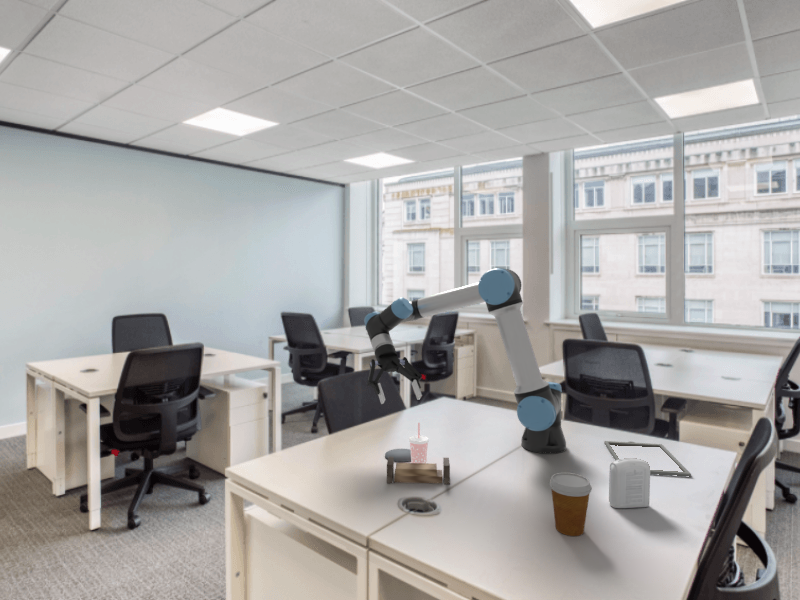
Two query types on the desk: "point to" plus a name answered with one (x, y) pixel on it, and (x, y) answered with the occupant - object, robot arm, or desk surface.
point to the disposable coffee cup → (570, 502)
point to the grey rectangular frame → (660, 472)
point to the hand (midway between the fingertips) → (401, 399)
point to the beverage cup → (418, 448)
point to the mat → (399, 455)
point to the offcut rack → (417, 472)
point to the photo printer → (629, 483)
